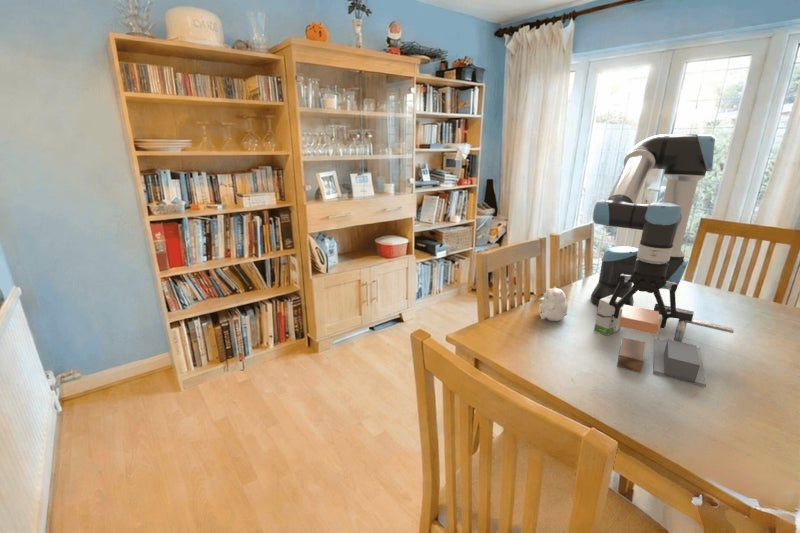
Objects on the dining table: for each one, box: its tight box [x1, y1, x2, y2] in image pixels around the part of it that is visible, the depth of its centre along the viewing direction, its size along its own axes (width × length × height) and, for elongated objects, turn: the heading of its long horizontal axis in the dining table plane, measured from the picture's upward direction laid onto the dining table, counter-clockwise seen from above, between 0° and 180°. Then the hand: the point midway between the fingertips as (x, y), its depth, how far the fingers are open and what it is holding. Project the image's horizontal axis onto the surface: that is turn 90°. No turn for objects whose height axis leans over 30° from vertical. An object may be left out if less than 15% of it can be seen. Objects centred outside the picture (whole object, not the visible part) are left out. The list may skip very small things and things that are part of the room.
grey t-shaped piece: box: [653, 303, 735, 342], centre depth 117 cm, size 3×20×11 cm, turn 52°
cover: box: [619, 305, 659, 335], centre depth 109 cm, size 9×10×3 cm
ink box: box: [593, 295, 625, 336], centre depth 129 cm, size 9×5×12 cm, turn 123°
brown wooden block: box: [616, 336, 646, 374], centre depth 113 cm, size 6×12×4 cm, turn 147°
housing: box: [652, 337, 708, 388], centre depth 112 cm, size 12×23×6 cm, turn 147°
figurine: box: [538, 286, 569, 322], centre depth 138 cm, size 10×10×12 cm
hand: (636, 332), depth 110 cm, fingers closed on cover, 9 cm apart
